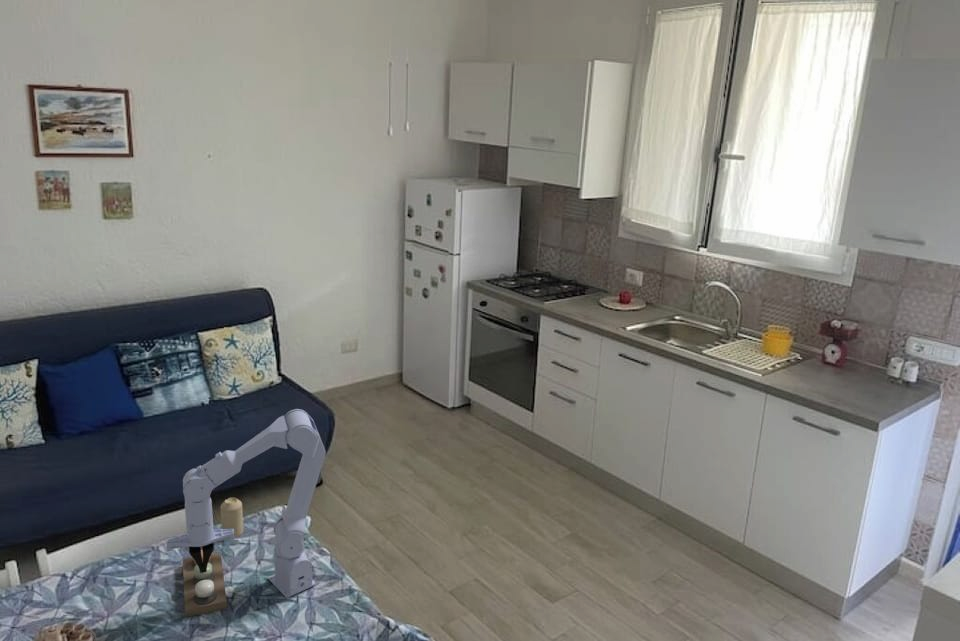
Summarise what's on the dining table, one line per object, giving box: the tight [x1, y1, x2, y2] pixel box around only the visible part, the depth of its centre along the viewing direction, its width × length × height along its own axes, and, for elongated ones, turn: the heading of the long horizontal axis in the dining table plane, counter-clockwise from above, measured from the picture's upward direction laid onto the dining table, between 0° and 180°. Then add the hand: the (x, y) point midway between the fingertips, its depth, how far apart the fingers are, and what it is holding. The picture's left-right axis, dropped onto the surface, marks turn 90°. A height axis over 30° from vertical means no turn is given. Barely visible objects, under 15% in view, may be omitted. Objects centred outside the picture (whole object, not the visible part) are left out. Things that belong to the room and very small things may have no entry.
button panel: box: [182, 551, 228, 618], centre depth 173 cm, size 20×9×2 cm, turn 23°
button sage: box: [194, 563, 212, 579], centre depth 172 cm, size 4×4×2 cm
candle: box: [220, 497, 244, 538], centre depth 194 cm, size 6×6×10 cm
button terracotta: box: [193, 549, 211, 565], centre depth 179 cm, size 4×4×2 cm
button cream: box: [195, 580, 214, 597], centre depth 166 cm, size 4×4×2 cm
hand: (203, 570), depth 168 cm, fingers closed
